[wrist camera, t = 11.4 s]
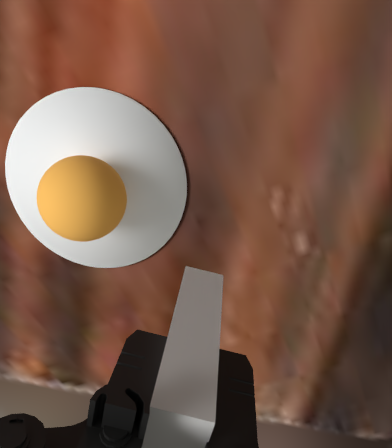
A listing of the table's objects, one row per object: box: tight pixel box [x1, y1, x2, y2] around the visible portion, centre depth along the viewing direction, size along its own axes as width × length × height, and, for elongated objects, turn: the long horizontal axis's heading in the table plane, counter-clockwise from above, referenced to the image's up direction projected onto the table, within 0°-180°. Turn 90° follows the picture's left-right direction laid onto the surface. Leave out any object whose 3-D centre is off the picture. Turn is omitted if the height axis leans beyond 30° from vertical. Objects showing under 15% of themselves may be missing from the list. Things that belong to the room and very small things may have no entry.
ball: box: [37, 155, 127, 242], centre depth 23 cm, size 6×6×6 cm
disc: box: [5, 87, 187, 268], centre depth 26 cm, size 13×13×1 cm
